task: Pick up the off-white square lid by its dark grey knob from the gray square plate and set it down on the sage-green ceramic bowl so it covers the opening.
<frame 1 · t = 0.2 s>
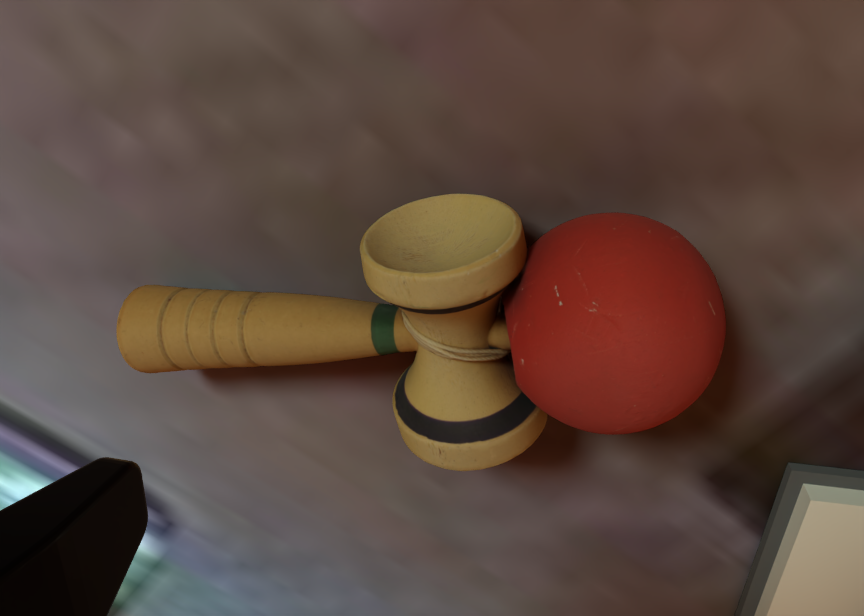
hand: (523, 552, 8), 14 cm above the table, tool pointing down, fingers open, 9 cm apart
kendama: (412, 291, 23), on the table
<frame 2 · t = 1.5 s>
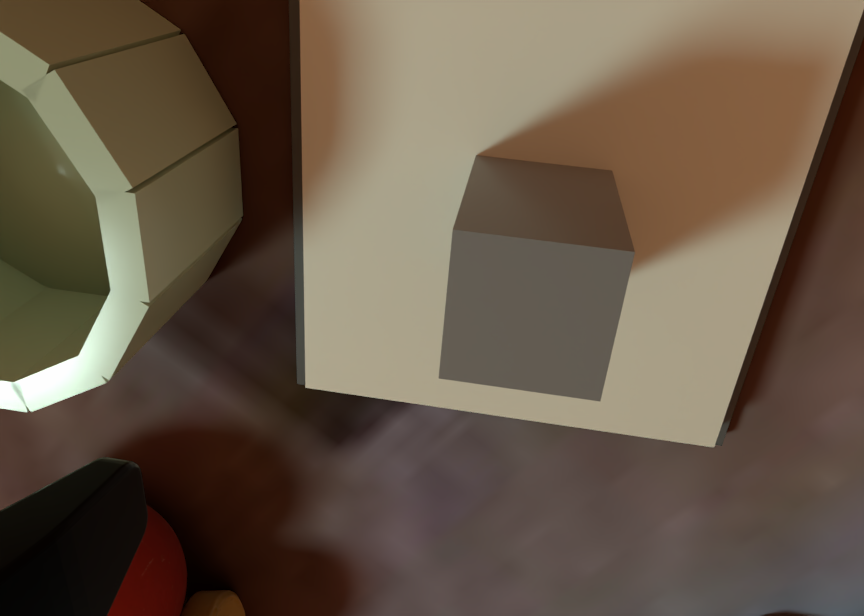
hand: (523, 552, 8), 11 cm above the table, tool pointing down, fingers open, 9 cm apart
gray square plate: (534, 208, 17), on the table
lid: (534, 213, 17), resting on gray square plate
bowl: (74, 153, 18), on the table
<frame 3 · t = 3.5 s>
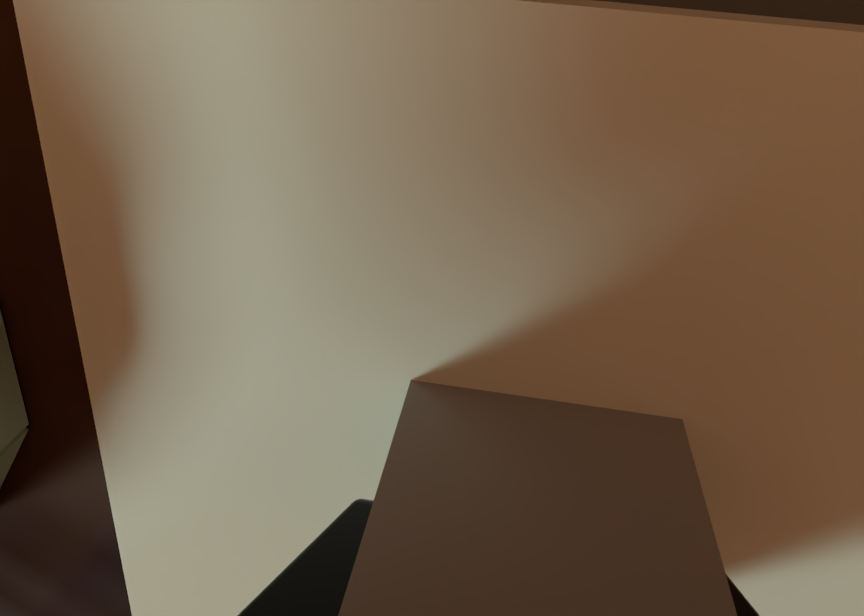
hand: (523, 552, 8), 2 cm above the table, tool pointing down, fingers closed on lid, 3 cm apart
gray square plate: (527, 438, 10), on the table
lid: (527, 457, 9), resting on gray square plate, touching gripper
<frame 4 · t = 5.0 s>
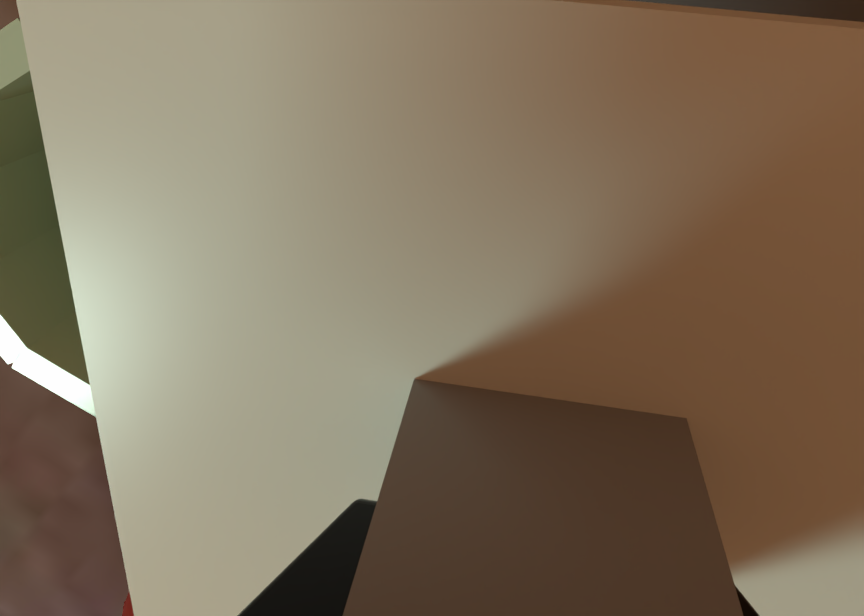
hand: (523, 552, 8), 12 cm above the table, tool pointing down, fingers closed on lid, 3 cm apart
gray square plate: (672, 230, 18), on the table
lid: (530, 456, 9), point 10 cm above the table, touching gripper
bowl: (219, 182, 19), on the table
when the fingers open (8 cm above the table, at t = 6.4 s): lid drops 1 cm, resting on bowl.
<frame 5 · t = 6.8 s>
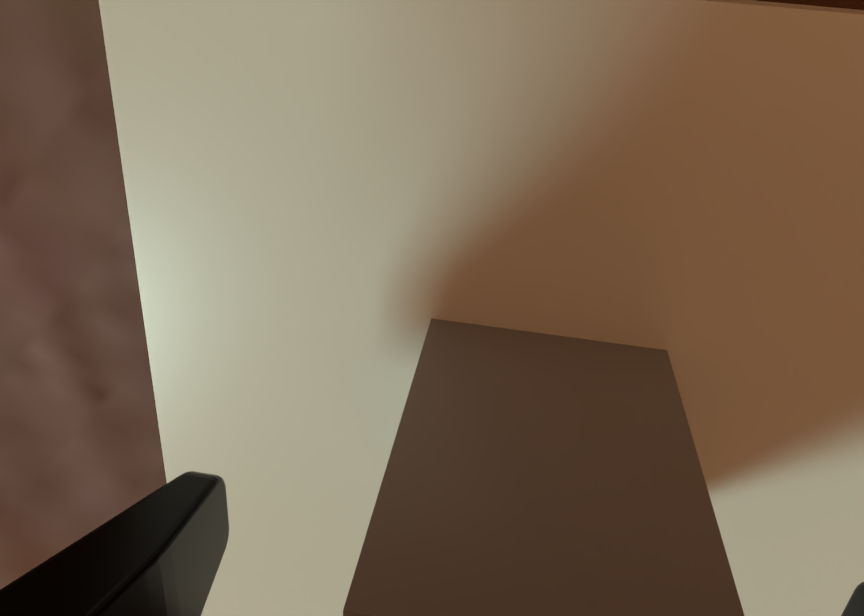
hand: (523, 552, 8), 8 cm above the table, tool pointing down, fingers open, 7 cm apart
lid: (531, 394, 10), point 5 cm above the table, touching bowl
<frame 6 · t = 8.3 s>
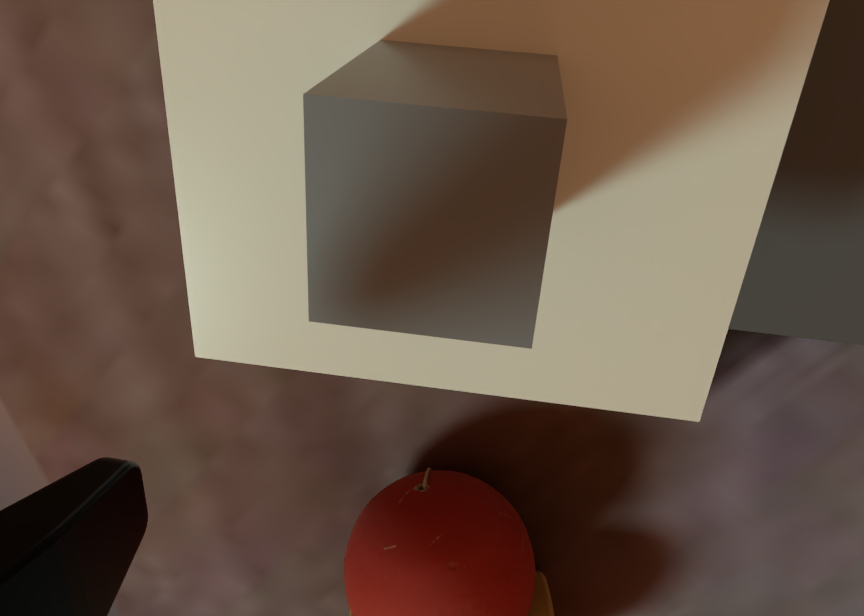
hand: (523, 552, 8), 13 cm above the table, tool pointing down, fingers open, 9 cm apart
lid: (464, 125, 13), point 5 cm above the table, touching bowl
kendama: (465, 613, 28), on the table
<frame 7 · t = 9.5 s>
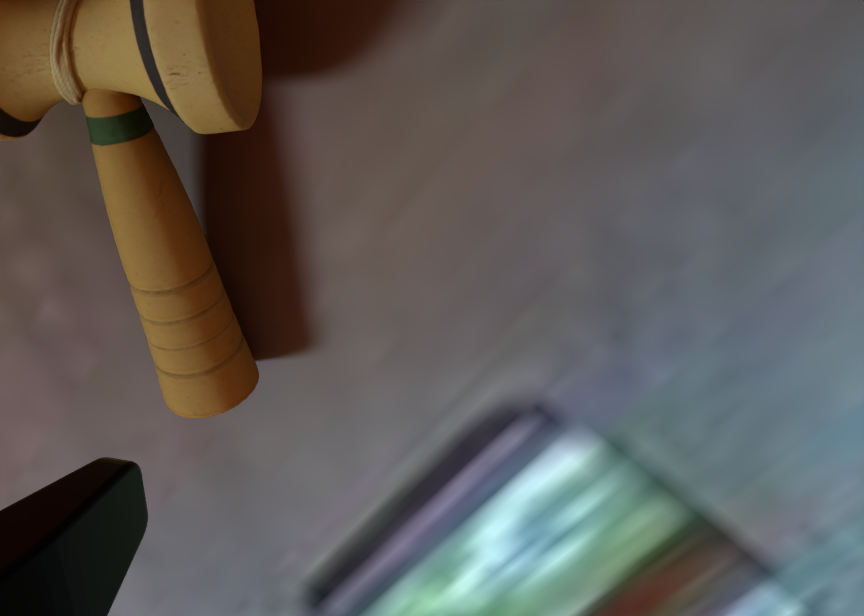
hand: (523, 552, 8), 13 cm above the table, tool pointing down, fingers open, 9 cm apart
kendama: (174, 92, 20), on the table
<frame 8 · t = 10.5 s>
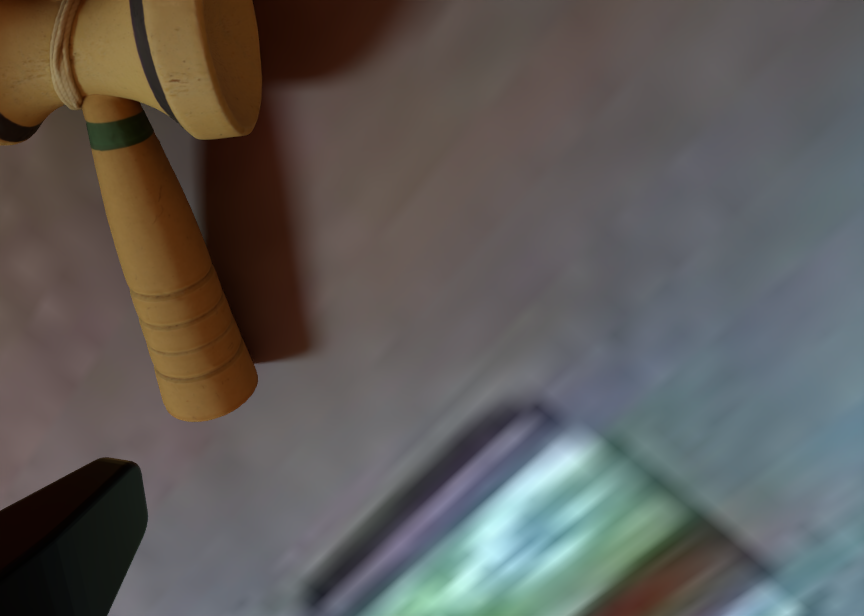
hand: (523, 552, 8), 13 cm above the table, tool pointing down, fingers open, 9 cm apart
kendama: (174, 97, 20), on the table
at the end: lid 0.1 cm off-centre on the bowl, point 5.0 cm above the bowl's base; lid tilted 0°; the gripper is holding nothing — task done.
